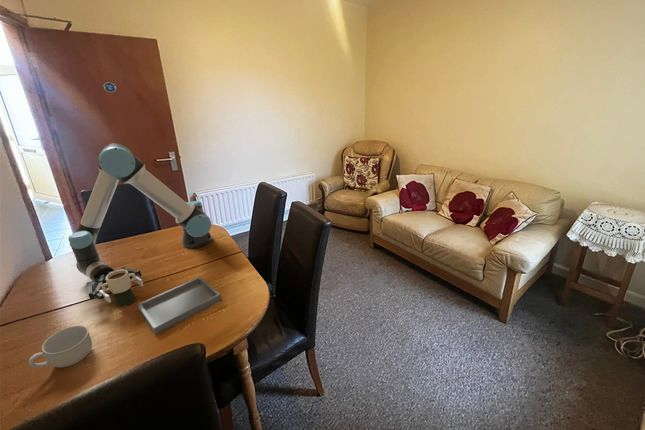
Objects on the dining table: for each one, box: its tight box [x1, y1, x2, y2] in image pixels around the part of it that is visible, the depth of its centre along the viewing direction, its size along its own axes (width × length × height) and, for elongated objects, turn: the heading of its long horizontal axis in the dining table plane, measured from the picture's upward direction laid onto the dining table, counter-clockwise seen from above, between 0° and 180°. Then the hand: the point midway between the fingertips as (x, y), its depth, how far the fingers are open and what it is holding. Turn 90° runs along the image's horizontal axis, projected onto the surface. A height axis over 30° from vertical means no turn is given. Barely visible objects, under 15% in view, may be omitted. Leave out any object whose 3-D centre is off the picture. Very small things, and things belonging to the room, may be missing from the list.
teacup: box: [28, 325, 93, 369], centre depth 86 cm, size 14×11×8 cm
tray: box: [136, 276, 223, 336], centre depth 109 cm, size 24×18×3 cm
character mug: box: [101, 269, 136, 307], centre depth 110 cm, size 11×7×13 cm, turn 136°
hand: (126, 290), depth 107 cm, fingers closed on character mug, 11 cm apart
